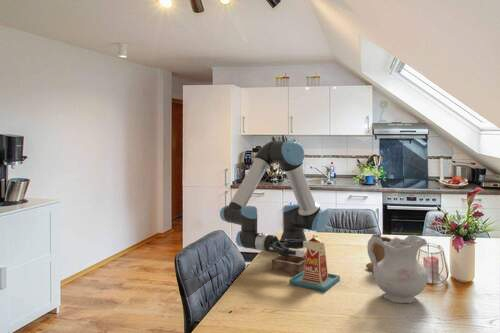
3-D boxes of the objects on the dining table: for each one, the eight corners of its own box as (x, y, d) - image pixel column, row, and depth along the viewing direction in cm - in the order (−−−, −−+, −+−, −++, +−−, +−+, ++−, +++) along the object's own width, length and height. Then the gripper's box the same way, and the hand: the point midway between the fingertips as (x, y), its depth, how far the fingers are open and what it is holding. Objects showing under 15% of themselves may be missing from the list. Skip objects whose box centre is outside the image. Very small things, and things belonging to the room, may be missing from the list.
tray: (289, 284, 171) (289, 279, 170) (305, 273, 184) (306, 268, 184) (325, 292, 162) (325, 287, 162) (339, 280, 175) (339, 275, 175)
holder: (271, 268, 190) (271, 259, 190) (286, 260, 202) (286, 251, 202) (299, 274, 182) (299, 264, 182) (312, 265, 194) (312, 256, 194)
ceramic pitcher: (379, 312, 146) (383, 245, 142) (358, 287, 165) (361, 228, 161) (435, 308, 149) (441, 243, 145) (408, 285, 168) (413, 226, 164)
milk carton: (322, 285, 166) (322, 237, 165) (300, 281, 171) (301, 234, 169) (328, 278, 174) (329, 232, 173) (308, 275, 179) (308, 230, 177)
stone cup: (381, 276, 180) (382, 242, 178) (362, 268, 190) (362, 237, 189) (405, 270, 187) (406, 238, 186) (385, 263, 197) (386, 232, 196)
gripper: (252, 241, 174) (297, 248, 163) (280, 229, 195) (322, 235, 183) (252, 258, 175) (297, 266, 163) (280, 244, 196) (321, 251, 184)
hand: (310, 249), depth 173 cm, fingers open, 13 cm apart
